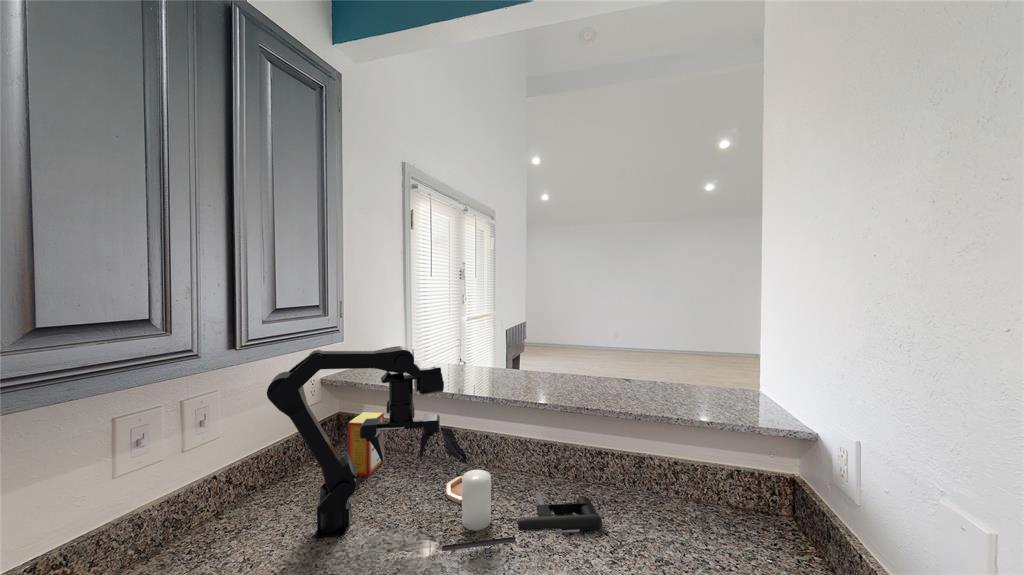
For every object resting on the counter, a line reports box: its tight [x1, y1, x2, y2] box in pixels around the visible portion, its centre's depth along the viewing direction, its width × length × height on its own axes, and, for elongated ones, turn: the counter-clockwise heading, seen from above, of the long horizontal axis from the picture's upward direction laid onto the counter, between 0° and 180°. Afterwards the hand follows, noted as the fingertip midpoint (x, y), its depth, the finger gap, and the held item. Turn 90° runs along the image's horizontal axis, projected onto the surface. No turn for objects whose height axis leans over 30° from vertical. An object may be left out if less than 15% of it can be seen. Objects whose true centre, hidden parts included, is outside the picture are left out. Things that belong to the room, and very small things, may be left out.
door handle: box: [517, 491, 603, 534], centre depth 92 cm, size 3×20×16 cm
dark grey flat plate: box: [441, 536, 516, 552], centre depth 87 cm, size 16×12×1 cm
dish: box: [445, 475, 463, 505], centre depth 101 cm, size 12×12×2 cm
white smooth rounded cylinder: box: [461, 469, 492, 531], centre depth 88 cm, size 7×7×11 cm
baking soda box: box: [347, 411, 385, 477], centre depth 115 cm, size 10×6×16 cm
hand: (401, 459), depth 93 cm, fingers open, 9 cm apart
